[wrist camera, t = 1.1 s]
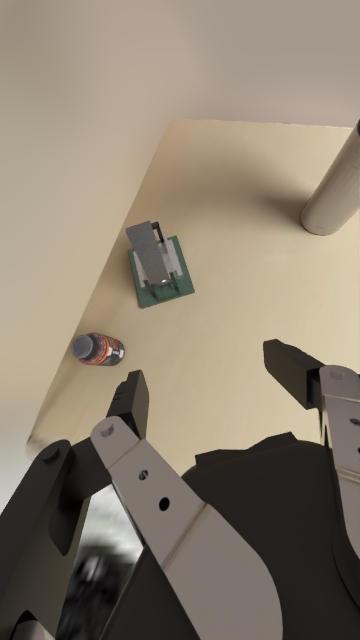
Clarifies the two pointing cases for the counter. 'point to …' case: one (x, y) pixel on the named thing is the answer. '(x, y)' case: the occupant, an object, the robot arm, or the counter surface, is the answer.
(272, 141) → the counter surface
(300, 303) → the counter surface
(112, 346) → the supplement bottle
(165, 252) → the heatsink
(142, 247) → the retention strap
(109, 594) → the counter surface
